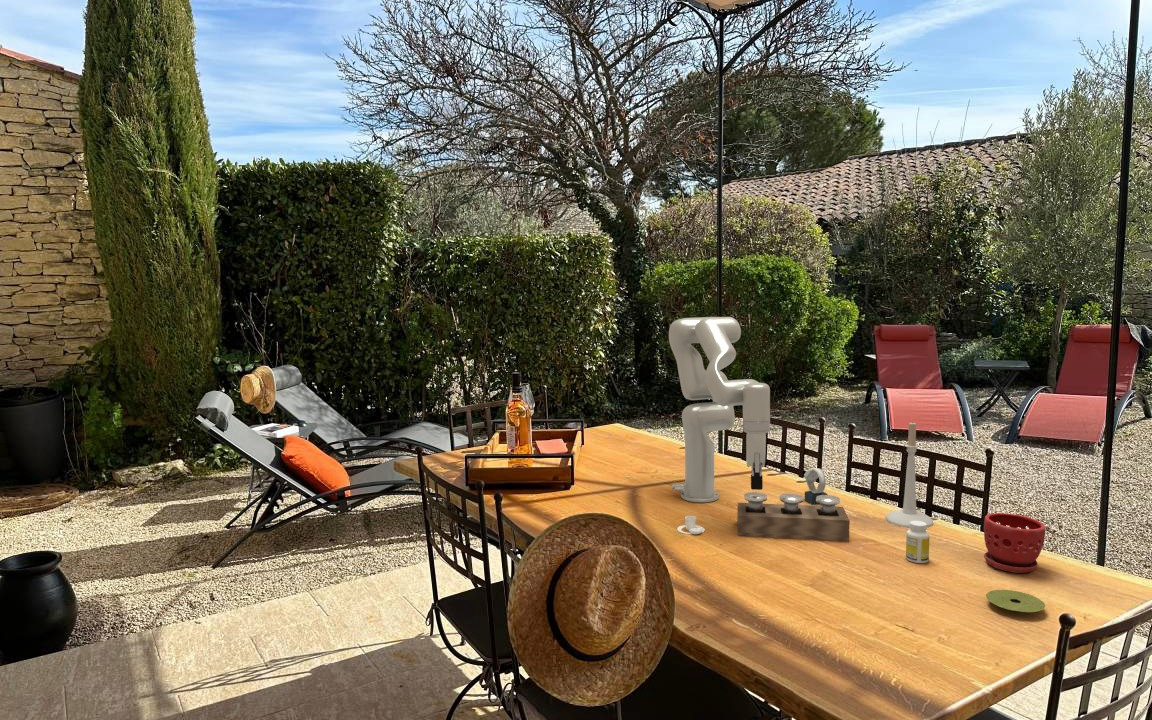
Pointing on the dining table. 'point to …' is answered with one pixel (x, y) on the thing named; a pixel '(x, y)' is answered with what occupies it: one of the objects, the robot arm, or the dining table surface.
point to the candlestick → (909, 489)
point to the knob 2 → (827, 504)
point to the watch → (810, 479)
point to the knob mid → (791, 503)
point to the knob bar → (793, 523)
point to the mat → (1015, 600)
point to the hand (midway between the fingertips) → (756, 488)
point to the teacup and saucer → (691, 526)
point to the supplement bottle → (917, 542)
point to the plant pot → (1013, 542)
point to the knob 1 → (755, 501)
